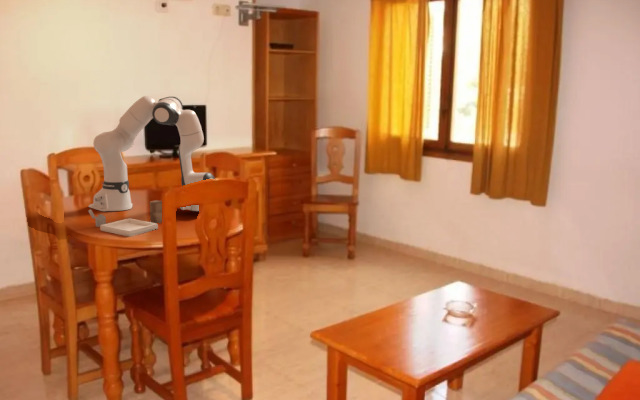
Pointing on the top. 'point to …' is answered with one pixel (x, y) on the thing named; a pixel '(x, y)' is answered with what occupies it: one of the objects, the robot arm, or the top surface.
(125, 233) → the tray
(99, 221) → the lighter
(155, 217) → the walnut block
